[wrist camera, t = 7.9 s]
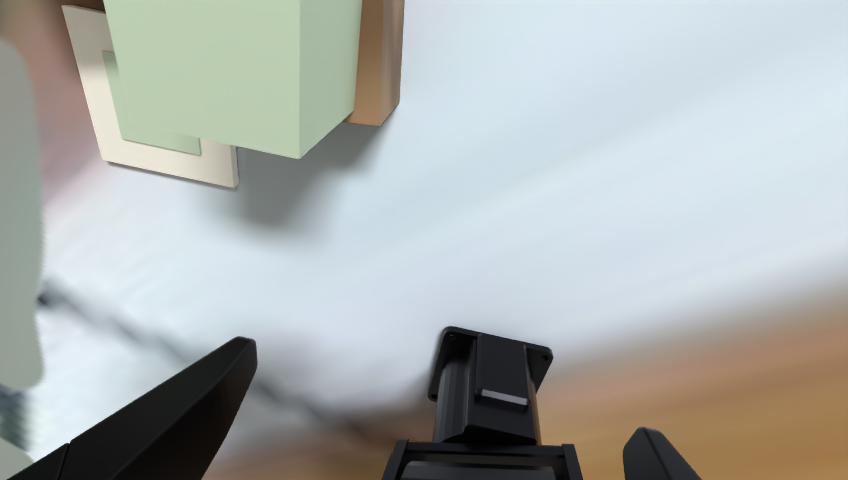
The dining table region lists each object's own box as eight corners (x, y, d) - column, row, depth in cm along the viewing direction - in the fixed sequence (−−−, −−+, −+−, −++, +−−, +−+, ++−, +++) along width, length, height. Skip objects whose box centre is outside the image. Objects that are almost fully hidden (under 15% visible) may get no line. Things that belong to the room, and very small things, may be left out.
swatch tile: (239, 184, 21) (232, 189, 21) (110, 156, 21) (100, 160, 21) (227, 36, 18) (218, 38, 17) (71, 4, 18) (58, 5, 17)
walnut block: (400, 101, 18) (379, 126, 15) (270, 86, 19) (222, 106, 15) (408, -65, 15) (385, -83, 12) (253, -79, 16) (187, -100, 12)
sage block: (354, 110, 15) (299, 159, 10) (232, 84, 15) (130, 123, 11) (365, -40, 12) (299, -54, 8) (220, -69, 12) (81, -99, 8)
